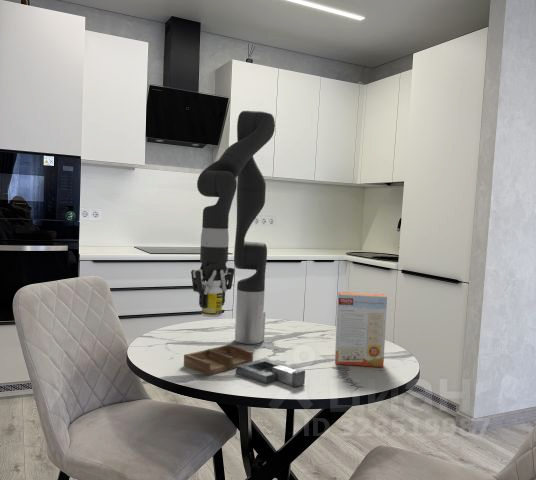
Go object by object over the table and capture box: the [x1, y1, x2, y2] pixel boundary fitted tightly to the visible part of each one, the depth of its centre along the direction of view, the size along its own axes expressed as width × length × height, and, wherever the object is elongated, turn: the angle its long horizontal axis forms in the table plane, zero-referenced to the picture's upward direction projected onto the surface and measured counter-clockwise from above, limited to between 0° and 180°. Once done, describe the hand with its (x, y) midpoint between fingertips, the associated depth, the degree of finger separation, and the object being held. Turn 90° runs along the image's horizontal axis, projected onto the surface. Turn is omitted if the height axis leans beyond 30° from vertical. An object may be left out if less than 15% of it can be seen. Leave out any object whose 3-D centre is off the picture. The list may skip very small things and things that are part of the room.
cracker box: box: [334, 291, 388, 368], centre depth 149 cm, size 14×6×21 cm, turn 84°
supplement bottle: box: [201, 280, 223, 318], centre depth 137 cm, size 5×5×10 cm
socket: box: [235, 358, 295, 385], centre depth 135 cm, size 11×11×2 cm
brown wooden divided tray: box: [183, 344, 254, 376], centre depth 142 cm, size 17×10×3 cm, turn 137°
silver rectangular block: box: [271, 365, 306, 388], centre depth 130 cm, size 4×8×4 cm, turn 48°
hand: (212, 306), depth 137 cm, fingers closed on supplement bottle, 5 cm apart
